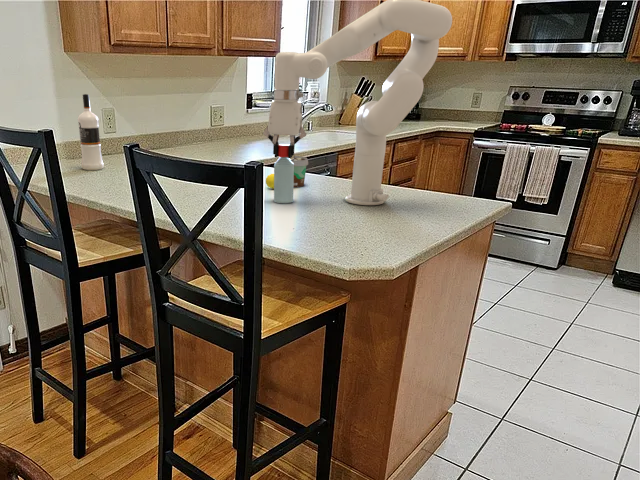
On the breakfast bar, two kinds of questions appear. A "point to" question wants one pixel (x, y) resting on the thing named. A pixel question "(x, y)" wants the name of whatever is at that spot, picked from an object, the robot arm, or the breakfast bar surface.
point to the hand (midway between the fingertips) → (283, 156)
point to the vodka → (89, 138)
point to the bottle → (283, 180)
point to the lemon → (270, 181)
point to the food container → (299, 170)
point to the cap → (283, 150)
